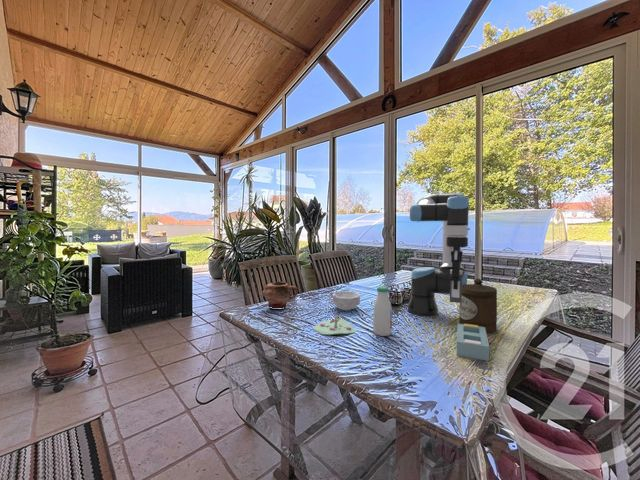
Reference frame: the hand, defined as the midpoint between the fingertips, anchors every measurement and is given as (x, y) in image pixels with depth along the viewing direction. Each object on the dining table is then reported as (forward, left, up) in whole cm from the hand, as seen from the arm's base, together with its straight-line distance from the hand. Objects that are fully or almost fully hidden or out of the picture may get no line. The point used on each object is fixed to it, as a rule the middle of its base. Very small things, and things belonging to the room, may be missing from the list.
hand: (455, 295), depth 113 cm
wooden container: (+9, +22, -19) cm, 30 cm away
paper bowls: (-55, +24, -19) cm, 63 cm away
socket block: (+6, -2, -19) cm, 20 cm away
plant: (-50, -3, -19) cm, 54 cm away
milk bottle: (-28, -3, -19) cm, 34 cm away
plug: (0, 0, -2) cm, 2 cm away
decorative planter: (-89, +9, -19) cm, 92 cm away
